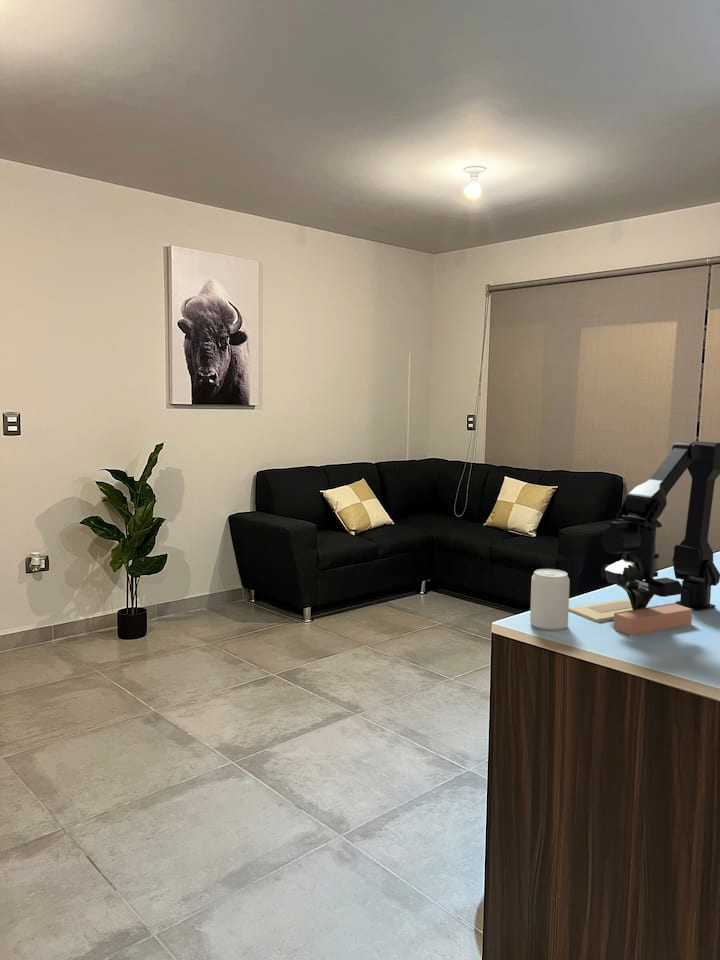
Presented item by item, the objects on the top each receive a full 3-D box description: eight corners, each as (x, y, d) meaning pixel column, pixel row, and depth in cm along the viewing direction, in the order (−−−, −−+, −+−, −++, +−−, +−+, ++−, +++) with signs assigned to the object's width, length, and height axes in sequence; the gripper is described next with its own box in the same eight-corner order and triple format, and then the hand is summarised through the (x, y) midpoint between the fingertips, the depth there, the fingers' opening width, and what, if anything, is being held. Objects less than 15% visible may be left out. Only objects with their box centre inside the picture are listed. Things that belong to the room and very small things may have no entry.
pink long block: (673, 618, 168) (674, 602, 167) (691, 624, 163) (692, 608, 163) (613, 628, 160) (614, 612, 159) (630, 635, 155) (631, 619, 155)
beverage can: (569, 633, 157) (571, 578, 156) (530, 630, 159) (532, 576, 157) (566, 621, 165) (568, 569, 164) (529, 619, 167) (531, 567, 165)
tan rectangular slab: (625, 601, 181) (625, 598, 181) (657, 612, 172) (657, 609, 172) (568, 610, 173) (568, 607, 173) (598, 622, 164) (598, 619, 164)
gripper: (583, 543, 168) (580, 609, 170) (646, 560, 151) (642, 634, 153) (620, 539, 172) (617, 603, 174) (685, 556, 156) (681, 627, 158)
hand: (637, 616), depth 165 cm, fingers closed
